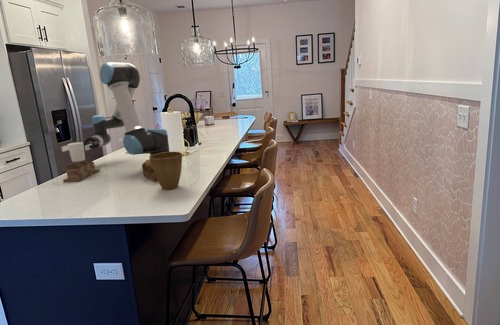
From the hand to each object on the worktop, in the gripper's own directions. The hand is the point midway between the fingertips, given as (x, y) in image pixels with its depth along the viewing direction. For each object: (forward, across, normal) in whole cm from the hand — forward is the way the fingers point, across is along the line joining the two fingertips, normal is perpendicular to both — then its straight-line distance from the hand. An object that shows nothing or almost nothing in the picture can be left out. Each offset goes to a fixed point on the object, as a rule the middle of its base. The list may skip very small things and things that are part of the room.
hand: (73, 148), depth 185 cm
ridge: (-3, 0, -17) cm, 17 cm away
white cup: (-3, +1, -8) cm, 8 cm away
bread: (+5, -47, -17) cm, 51 cm away
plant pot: (+26, -60, -17) cm, 68 cm away
